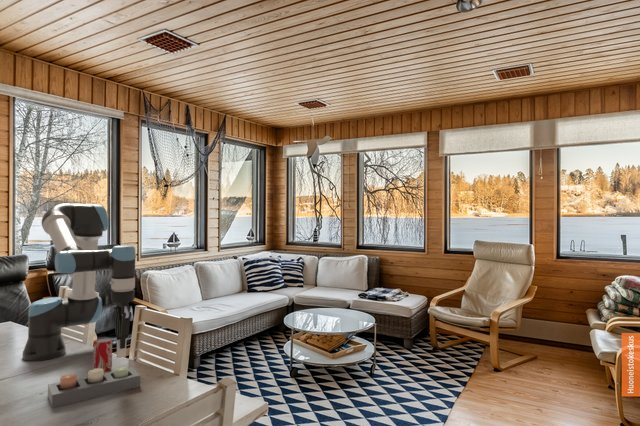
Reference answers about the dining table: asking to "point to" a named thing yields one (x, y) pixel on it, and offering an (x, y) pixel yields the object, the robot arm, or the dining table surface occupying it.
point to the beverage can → (103, 354)
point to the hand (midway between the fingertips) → (121, 356)
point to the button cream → (95, 375)
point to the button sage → (120, 372)
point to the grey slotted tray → (92, 388)
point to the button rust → (68, 381)
